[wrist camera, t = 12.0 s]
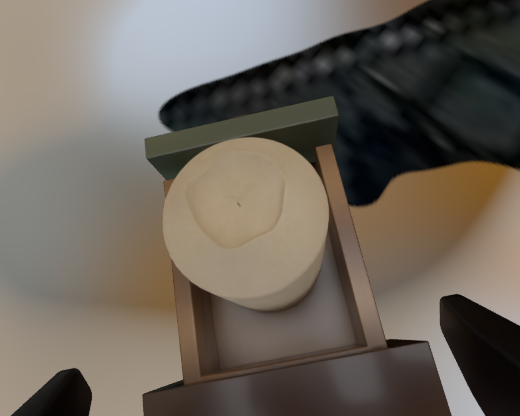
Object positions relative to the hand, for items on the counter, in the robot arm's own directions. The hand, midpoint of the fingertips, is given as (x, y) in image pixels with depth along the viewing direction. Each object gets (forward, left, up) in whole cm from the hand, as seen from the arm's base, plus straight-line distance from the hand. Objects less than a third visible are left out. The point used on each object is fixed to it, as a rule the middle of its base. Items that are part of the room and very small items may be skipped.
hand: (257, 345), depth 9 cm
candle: (+4, +2, -11) cm, 11 cm away
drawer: (+4, +3, -11) cm, 13 cm away
